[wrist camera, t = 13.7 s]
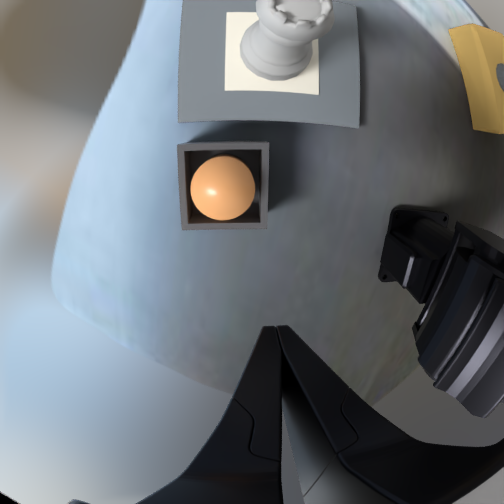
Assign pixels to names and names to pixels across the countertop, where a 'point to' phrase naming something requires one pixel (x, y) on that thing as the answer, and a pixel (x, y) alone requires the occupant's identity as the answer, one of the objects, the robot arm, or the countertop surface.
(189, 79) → the slate board
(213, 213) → the button
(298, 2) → the rook chess piece
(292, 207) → the countertop surface
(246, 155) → the button housing
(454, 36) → the rubber stamp
